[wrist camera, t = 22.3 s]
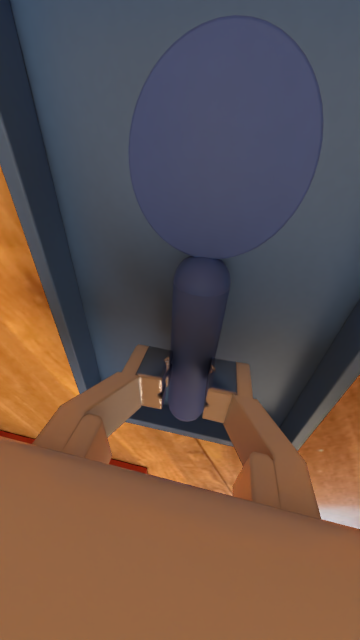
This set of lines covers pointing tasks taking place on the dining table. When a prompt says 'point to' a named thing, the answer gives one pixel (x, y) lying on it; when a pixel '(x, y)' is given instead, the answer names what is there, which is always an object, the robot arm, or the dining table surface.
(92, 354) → the blue tray
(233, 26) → the blue spoon
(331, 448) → the dining table surface
